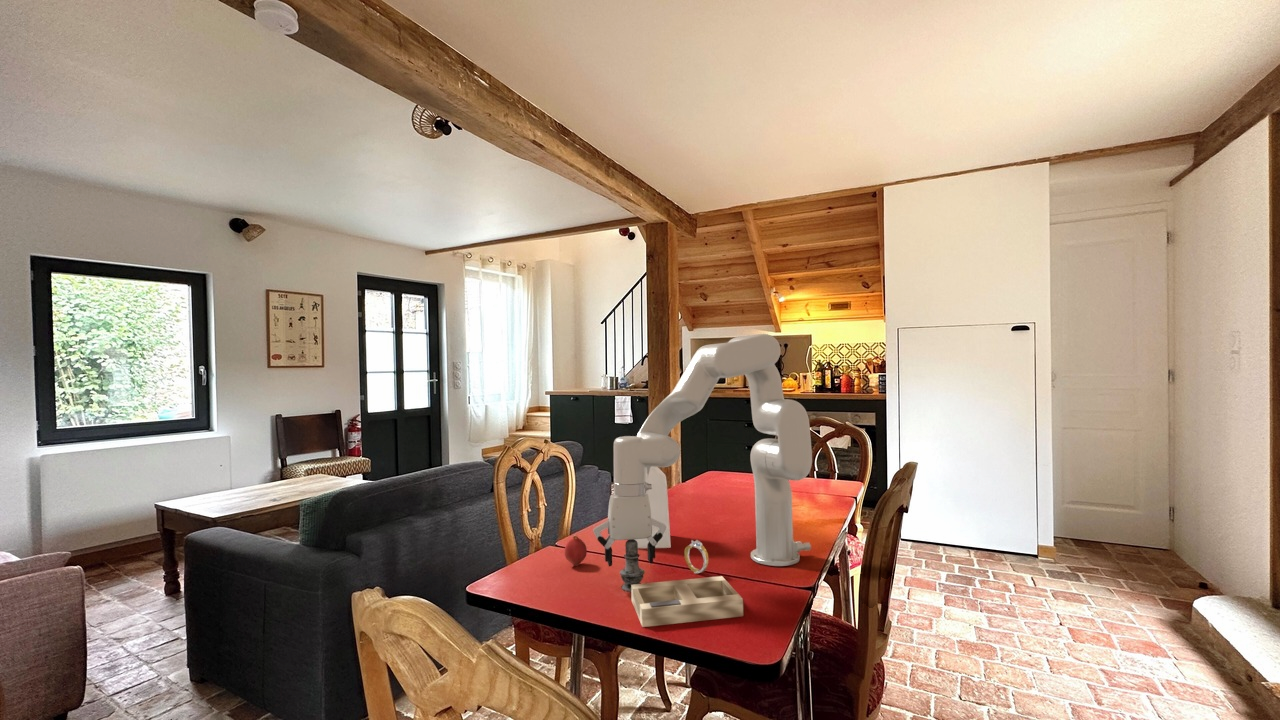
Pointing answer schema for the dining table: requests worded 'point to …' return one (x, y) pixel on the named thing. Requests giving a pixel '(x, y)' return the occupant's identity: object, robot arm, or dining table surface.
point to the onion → (575, 551)
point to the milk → (657, 506)
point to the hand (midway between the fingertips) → (630, 563)
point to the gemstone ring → (702, 549)
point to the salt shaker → (631, 566)
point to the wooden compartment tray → (685, 601)
